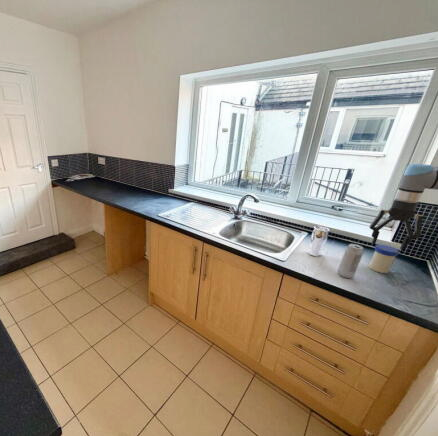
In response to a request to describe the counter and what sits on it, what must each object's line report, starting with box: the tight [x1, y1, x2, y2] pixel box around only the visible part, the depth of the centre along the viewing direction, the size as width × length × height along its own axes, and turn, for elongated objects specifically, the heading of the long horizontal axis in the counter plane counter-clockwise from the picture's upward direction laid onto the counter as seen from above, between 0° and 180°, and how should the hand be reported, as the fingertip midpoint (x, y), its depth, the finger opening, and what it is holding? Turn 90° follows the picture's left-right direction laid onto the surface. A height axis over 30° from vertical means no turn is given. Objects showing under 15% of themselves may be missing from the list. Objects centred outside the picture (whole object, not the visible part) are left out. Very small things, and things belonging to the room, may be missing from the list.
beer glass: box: [307, 225, 331, 257], centre depth 128 cm, size 7×7×15 cm
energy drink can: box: [337, 243, 365, 279], centre depth 109 cm, size 6×6×15 cm
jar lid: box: [374, 244, 400, 257], centre depth 114 cm, size 8×8×2 cm
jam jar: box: [368, 250, 396, 274], centre depth 115 cm, size 7×7×11 cm
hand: (387, 246), depth 113 cm, fingers open, 9 cm apart
